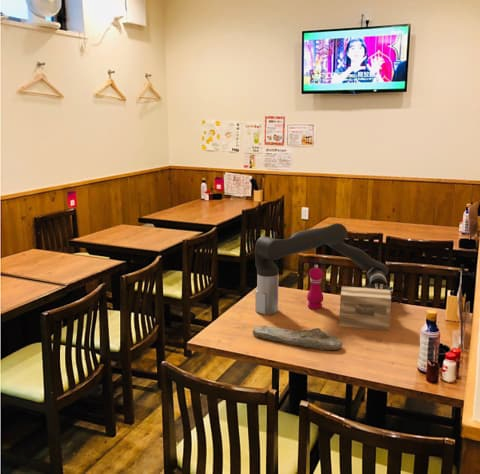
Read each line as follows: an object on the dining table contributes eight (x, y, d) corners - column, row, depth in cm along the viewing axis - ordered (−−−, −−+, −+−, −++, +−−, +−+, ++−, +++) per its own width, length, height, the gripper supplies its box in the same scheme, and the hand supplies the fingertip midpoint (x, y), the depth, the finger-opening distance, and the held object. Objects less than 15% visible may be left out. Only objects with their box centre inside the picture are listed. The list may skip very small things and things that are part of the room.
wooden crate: (340, 315, 218) (341, 286, 215) (387, 320, 214) (389, 289, 211) (339, 326, 208) (340, 294, 205) (388, 330, 203) (391, 298, 200)
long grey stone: (258, 332, 206) (249, 343, 197) (257, 320, 205) (248, 330, 196) (344, 342, 192) (338, 354, 184) (344, 329, 191) (338, 341, 182)
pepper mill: (304, 308, 227) (305, 265, 222) (310, 303, 233) (311, 261, 228) (319, 311, 224) (321, 267, 219) (325, 305, 230) (326, 263, 225)
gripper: (364, 274, 237) (363, 285, 221) (393, 276, 234) (395, 288, 218) (363, 289, 239) (362, 302, 223) (392, 291, 236) (394, 304, 220)
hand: (379, 295), depth 220 cm, fingers closed
